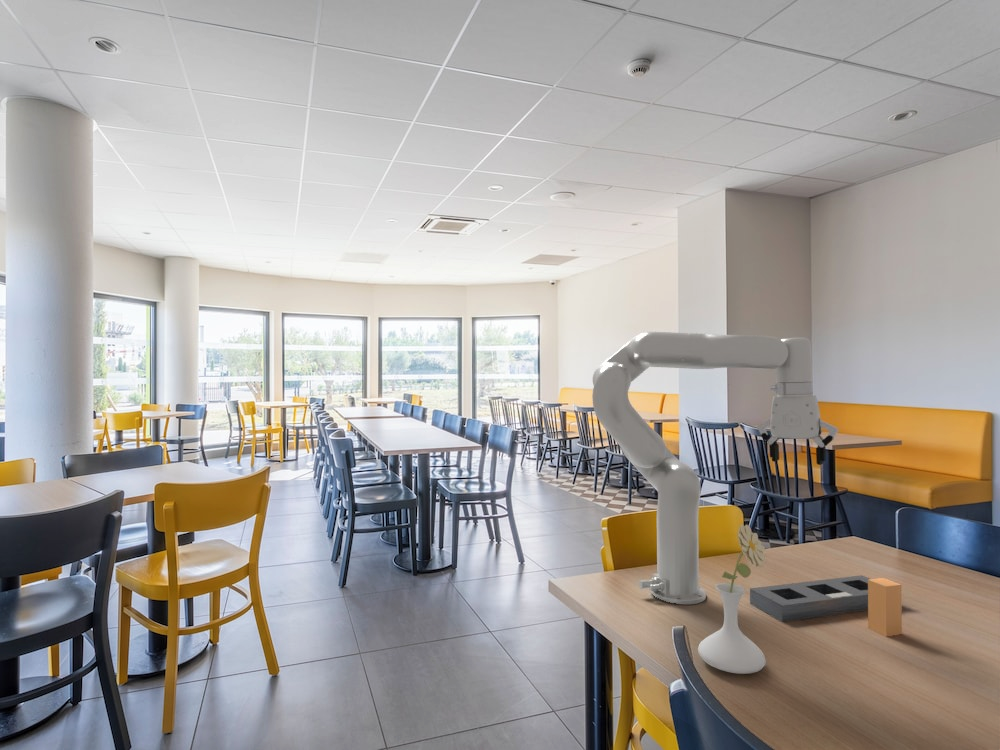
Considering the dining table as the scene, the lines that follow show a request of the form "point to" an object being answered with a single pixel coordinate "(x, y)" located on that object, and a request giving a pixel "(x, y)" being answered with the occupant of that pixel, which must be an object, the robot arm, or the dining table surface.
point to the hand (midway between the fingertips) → (797, 462)
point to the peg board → (812, 598)
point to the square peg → (884, 607)
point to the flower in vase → (735, 617)
